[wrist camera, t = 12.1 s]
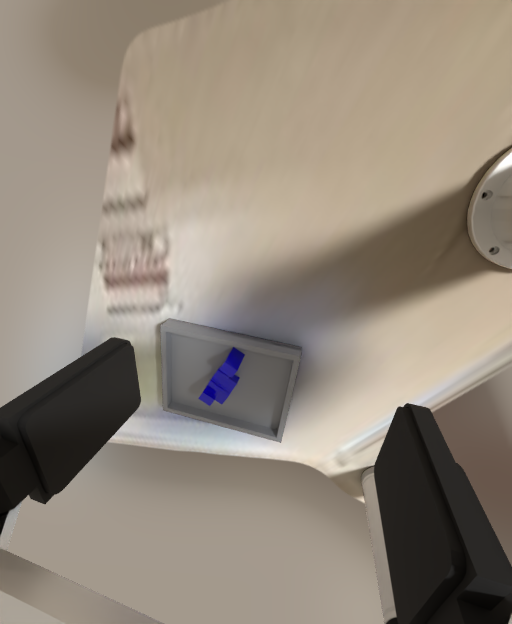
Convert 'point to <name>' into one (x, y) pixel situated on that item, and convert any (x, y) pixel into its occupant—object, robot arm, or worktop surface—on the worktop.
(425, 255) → the worktop surface
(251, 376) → the tray
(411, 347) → the worktop surface
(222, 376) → the cable holder
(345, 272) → the worktop surface
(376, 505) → the travel mug
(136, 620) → the robot arm
